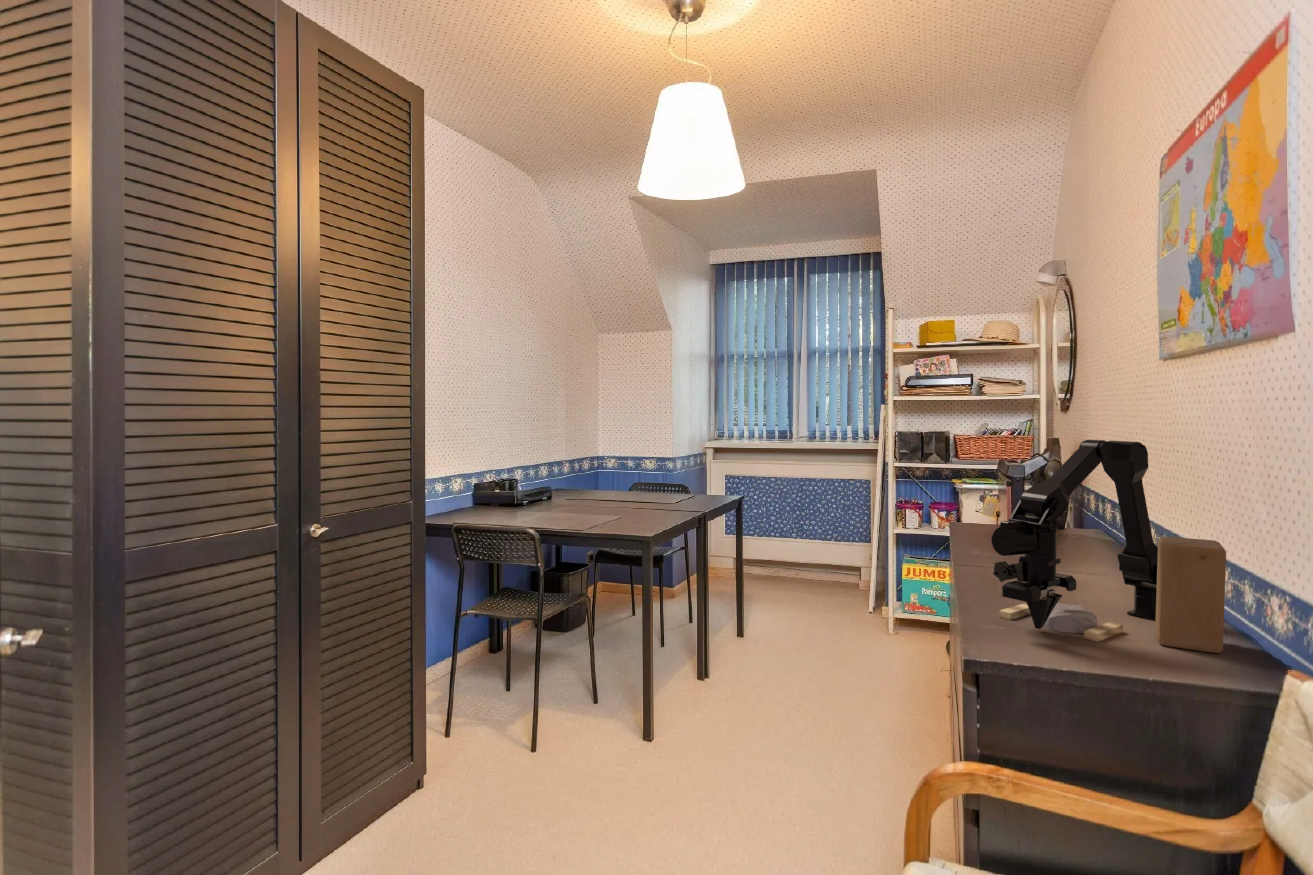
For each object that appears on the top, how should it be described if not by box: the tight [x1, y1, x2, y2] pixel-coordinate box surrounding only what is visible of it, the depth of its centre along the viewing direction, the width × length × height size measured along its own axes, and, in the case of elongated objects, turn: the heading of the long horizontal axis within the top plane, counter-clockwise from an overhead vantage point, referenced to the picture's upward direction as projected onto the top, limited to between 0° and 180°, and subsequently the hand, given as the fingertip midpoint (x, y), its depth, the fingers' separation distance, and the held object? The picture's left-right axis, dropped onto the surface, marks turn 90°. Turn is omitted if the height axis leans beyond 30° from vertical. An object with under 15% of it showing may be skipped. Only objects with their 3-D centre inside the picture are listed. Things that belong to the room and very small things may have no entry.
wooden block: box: [1154, 535, 1227, 654], centre depth 140 cm, size 10×10×20 cm
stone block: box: [1043, 602, 1099, 634], centre depth 153 cm, size 12×5×10 cm
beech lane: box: [998, 602, 1124, 643], centre depth 153 cm, size 11×20×2 cm, turn 35°
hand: (1038, 628), depth 148 cm, fingers closed
